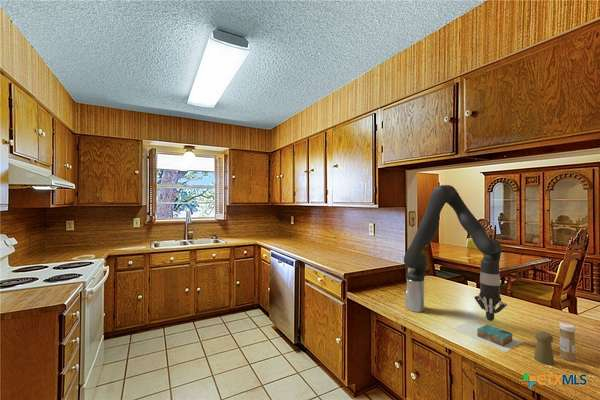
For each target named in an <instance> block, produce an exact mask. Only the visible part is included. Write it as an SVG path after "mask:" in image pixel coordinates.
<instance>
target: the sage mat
mask: <svg viewBox="0 0 600 400" xmlns="http://www.w3.org/2000/svg"><path fill="white" fill-rule="evenodd" d="M480 327H482V325H480V324H477V323H474V322H471V321H467V322H464V323H462V324H460V325H457V326H455V327H452V328H451V330H452V331H455V332H457V333H459V334H462V335H464V336H467V337H469V338H471V339H473V340H476V341H478V342H481V343H483V344H484V345H485V344H486V345H488V346H490V347H492V348H495V349H498V350H500V351H502V352H504V353H507V352H509V351H510V350H512V349H514V348H516V347H517V346H519V345H520V344H522V343H524V341H523V340H520V339H517V338H514V337H512V342H510V343H508V344H506V345H504V346H503V347H502V346H500V345H497V344H495V343H492V342H490V341H488V340H485V339H483V338H480V337H478V336H477V329H478V328H480Z"/></svg>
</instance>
